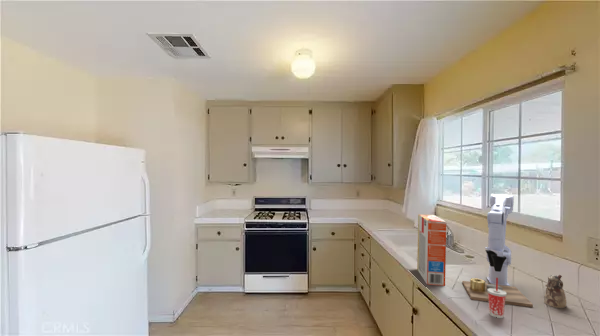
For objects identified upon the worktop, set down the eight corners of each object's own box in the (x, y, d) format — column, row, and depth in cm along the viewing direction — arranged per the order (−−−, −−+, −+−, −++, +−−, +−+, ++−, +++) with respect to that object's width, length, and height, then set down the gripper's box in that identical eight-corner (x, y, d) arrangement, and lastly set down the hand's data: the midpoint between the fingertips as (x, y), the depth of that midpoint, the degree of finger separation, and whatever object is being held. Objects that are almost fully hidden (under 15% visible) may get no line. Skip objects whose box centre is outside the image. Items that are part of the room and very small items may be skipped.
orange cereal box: (445, 285, 147) (446, 221, 147) (427, 284, 148) (428, 221, 148) (432, 270, 169) (433, 214, 170) (417, 269, 171) (418, 214, 171)
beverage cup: (499, 320, 113) (499, 281, 113) (483, 313, 119) (483, 276, 119) (509, 317, 116) (510, 279, 116) (493, 310, 121) (494, 274, 122)
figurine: (539, 300, 132) (540, 271, 132) (556, 300, 132) (557, 272, 132) (552, 307, 125) (553, 277, 125) (570, 308, 125) (571, 278, 125)
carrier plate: (462, 283, 151) (462, 273, 151) (515, 289, 144) (515, 279, 144) (471, 299, 132) (471, 288, 132) (532, 307, 125) (533, 295, 125)
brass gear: (468, 286, 143) (469, 277, 144) (483, 287, 142) (483, 279, 142) (471, 290, 138) (471, 281, 138) (486, 292, 136) (487, 283, 136)
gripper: (481, 234, 148) (481, 263, 148) (490, 240, 135) (489, 272, 134) (498, 236, 146) (498, 265, 146) (509, 242, 132) (508, 274, 132)
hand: (495, 268), depth 140 cm, fingers open, 7 cm apart
